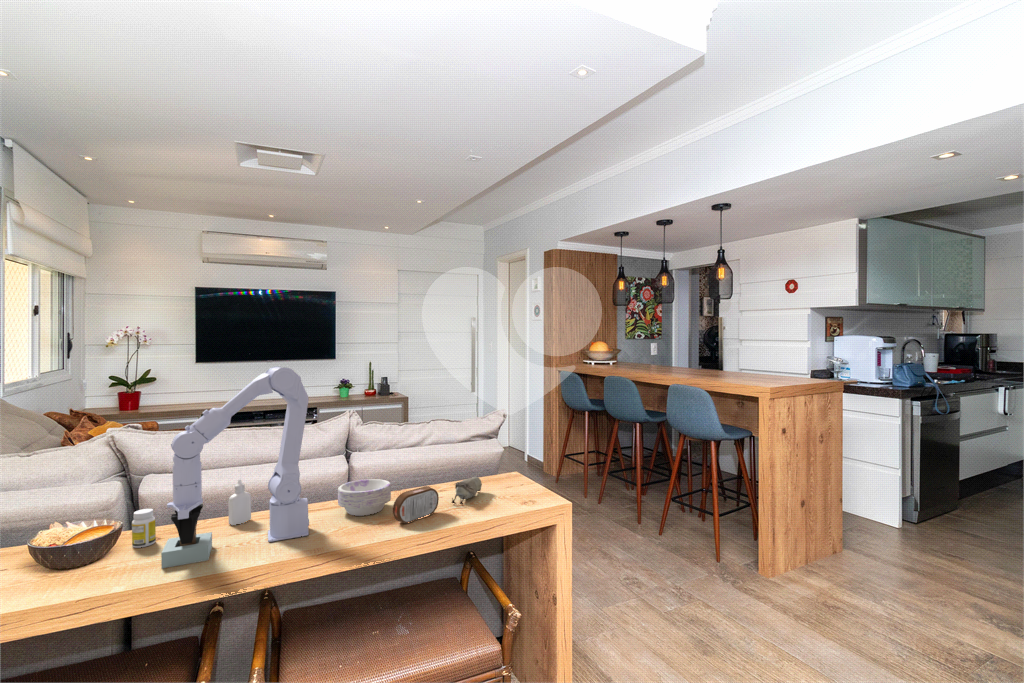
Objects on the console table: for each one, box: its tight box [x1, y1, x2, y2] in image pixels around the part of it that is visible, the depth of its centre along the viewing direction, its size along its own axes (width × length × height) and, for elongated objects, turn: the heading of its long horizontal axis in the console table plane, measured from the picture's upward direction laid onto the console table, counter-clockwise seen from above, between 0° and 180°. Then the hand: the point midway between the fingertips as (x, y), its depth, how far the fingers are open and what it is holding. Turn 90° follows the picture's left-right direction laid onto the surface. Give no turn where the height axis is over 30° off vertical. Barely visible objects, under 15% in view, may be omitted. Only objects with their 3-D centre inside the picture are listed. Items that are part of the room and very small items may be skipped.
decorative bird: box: [451, 476, 483, 505], centre depth 158 cm, size 5×16×8 cm, turn 158°
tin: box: [392, 485, 440, 524], centre depth 141 cm, size 15×3×8 cm, turn 140°
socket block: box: [160, 531, 213, 569], centre depth 117 cm, size 9×9×4 cm
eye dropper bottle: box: [228, 479, 252, 526], centre depth 140 cm, size 4×6×12 cm
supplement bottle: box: [131, 508, 157, 549], centre depth 125 cm, size 5×5×8 cm
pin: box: [180, 525, 197, 546], centre depth 117 cm, size 3×3×8 cm
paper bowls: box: [337, 478, 392, 517], centre depth 148 cm, size 15×15×8 cm
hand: (187, 540), depth 117 cm, fingers closed on pin, 3 cm apart
